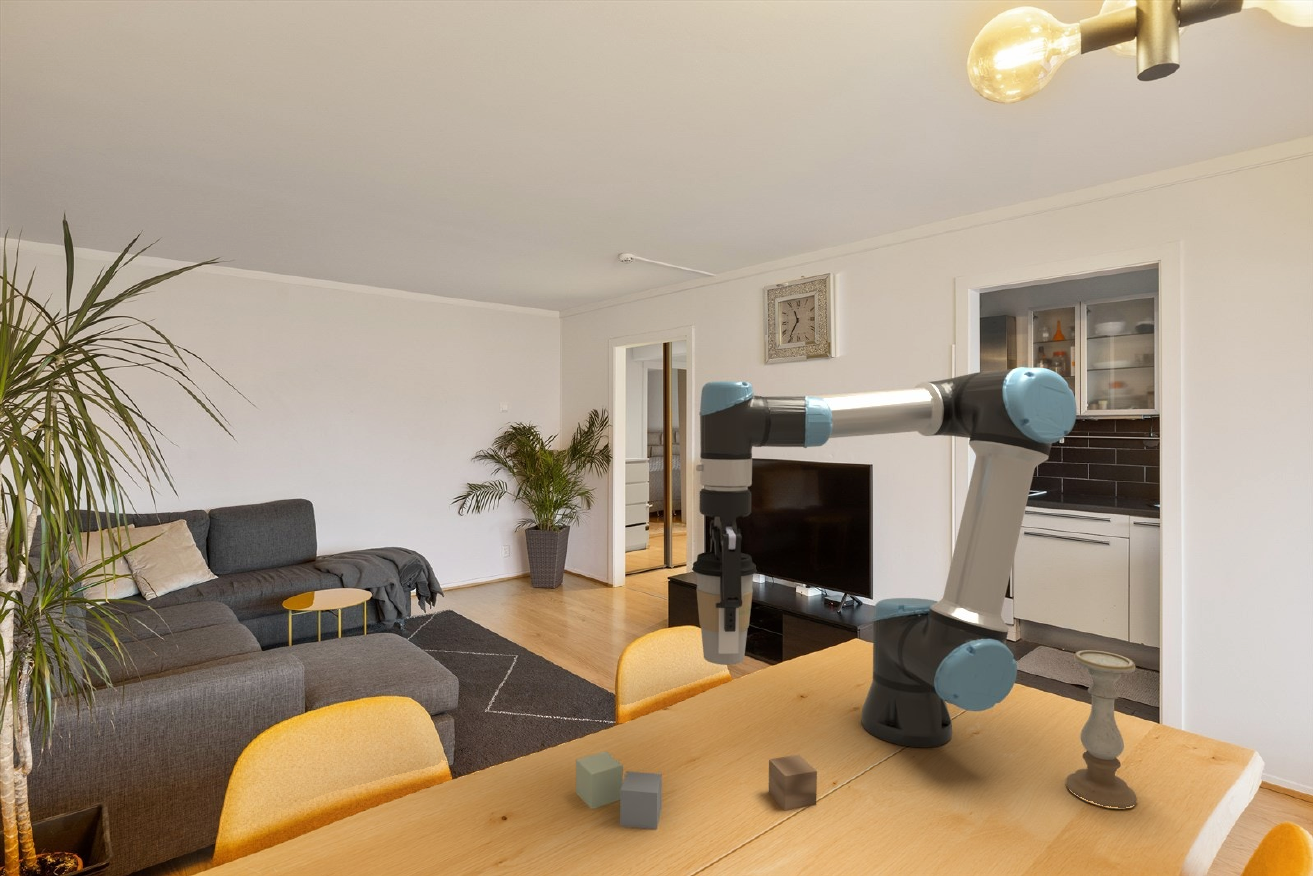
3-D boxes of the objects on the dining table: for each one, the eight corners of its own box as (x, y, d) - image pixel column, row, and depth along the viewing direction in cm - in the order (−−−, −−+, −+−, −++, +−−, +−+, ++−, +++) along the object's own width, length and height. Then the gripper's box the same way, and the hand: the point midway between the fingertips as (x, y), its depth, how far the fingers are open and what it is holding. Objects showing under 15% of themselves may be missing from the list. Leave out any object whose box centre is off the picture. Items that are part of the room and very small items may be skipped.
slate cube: (661, 809, 97) (661, 774, 96) (656, 830, 92) (657, 793, 91) (626, 806, 97) (626, 771, 97) (620, 826, 92) (620, 790, 92)
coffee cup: (753, 672, 95) (754, 564, 95) (686, 666, 97) (687, 561, 96) (757, 649, 104) (758, 551, 104) (696, 645, 106) (697, 548, 106)
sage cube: (605, 784, 103) (606, 751, 103) (622, 799, 99) (622, 765, 99) (575, 793, 100) (576, 759, 100) (591, 809, 96) (591, 774, 96)
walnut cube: (798, 787, 103) (799, 754, 102) (816, 805, 98) (816, 771, 98) (768, 792, 101) (769, 759, 101) (785, 811, 96) (785, 776, 96)
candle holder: (1125, 784, 104) (1129, 652, 104) (1145, 816, 96) (1149, 672, 95) (1059, 774, 107) (1063, 645, 106) (1073, 804, 99) (1077, 664, 98)
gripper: (692, 481, 110) (691, 621, 111) (708, 495, 89) (706, 668, 90) (739, 481, 111) (737, 621, 111) (765, 495, 90) (763, 668, 90)
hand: (723, 642), depth 100 cm, fingers closed on coffee cup, 8 cm apart
